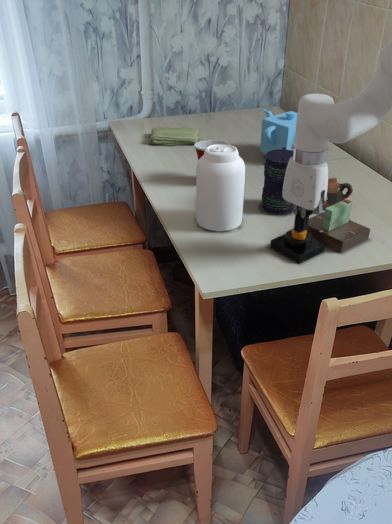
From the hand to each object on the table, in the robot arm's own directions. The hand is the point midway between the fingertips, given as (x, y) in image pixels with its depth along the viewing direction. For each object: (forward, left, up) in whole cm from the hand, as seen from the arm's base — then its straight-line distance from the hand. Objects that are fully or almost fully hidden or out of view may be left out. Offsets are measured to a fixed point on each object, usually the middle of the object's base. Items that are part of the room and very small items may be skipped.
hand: (300, 229), depth 133 cm
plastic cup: (+46, -11, -6) cm, 48 cm away
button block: (0, 0, -6) cm, 6 cm away
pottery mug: (+13, -28, -6) cm, 31 cm away
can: (+24, +5, -6) cm, 25 cm away
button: (0, 0, -2) cm, 2 cm away
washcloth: (+84, -26, -6) cm, 88 cm away
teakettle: (+46, -46, -6) cm, 65 cm away
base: (-1, -13, -6) cm, 14 cm away
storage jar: (+20, -14, -6) cm, 25 cm away
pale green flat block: (-1, -13, -3) cm, 13 cm away
